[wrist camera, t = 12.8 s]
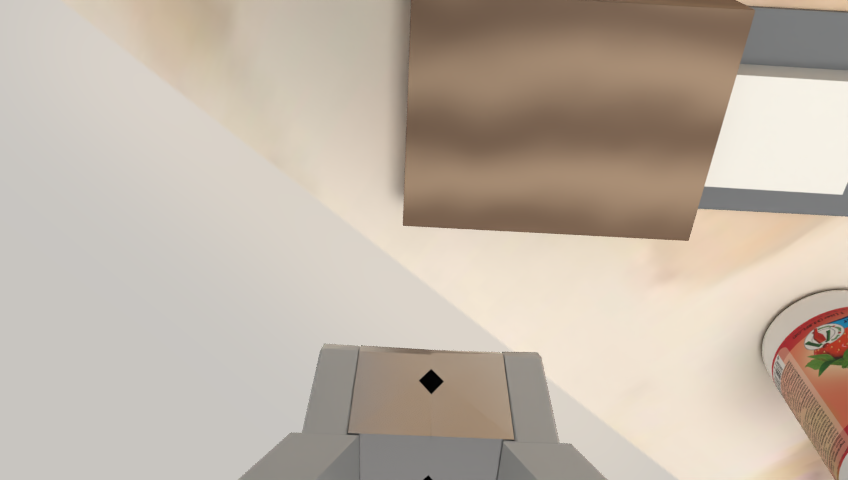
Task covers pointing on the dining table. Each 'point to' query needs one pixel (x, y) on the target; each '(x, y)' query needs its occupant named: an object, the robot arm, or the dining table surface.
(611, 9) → the board
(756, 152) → the tile
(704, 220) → the dining table surface
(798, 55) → the mat
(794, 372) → the fruit juice
